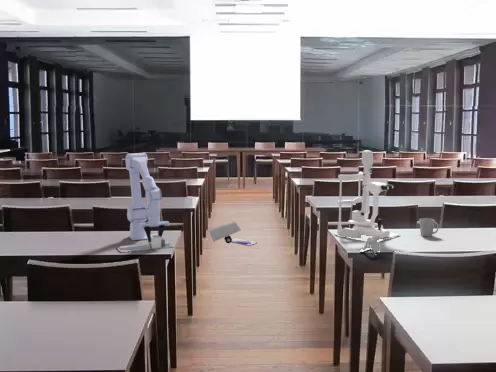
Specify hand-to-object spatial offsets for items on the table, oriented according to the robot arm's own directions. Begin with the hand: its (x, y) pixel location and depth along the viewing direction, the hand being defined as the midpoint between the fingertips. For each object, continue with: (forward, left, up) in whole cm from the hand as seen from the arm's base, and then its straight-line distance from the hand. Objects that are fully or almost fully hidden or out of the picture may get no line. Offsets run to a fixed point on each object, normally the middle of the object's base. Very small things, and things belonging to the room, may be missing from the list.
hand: (154, 241), depth 286 cm
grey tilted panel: (+5, +28, -1) cm, 28 cm away
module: (0, 0, -2) cm, 2 cm away
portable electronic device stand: (+53, +89, -3) cm, 104 cm away
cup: (+38, +137, -3) cm, 142 cm away
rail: (0, -5, -3) cm, 6 cm away
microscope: (+24, +108, -3) cm, 111 cm away
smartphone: (+10, +42, -3) cm, 43 cm away
